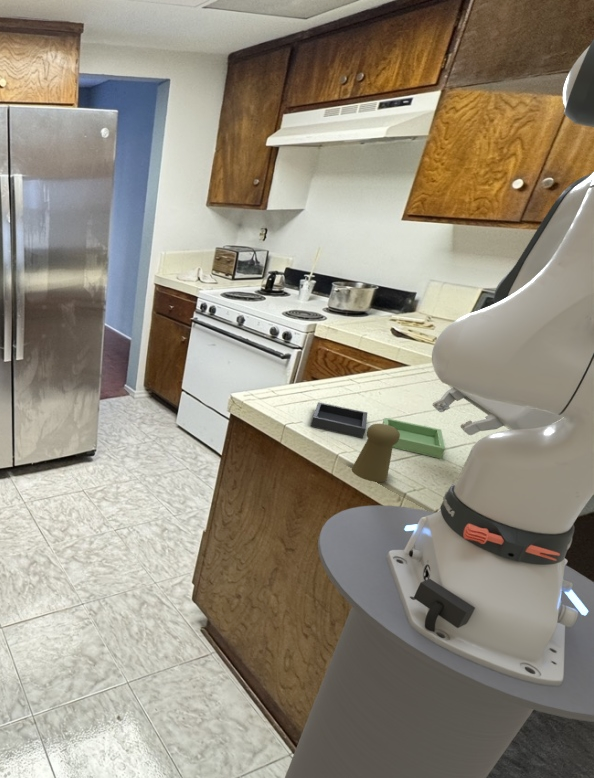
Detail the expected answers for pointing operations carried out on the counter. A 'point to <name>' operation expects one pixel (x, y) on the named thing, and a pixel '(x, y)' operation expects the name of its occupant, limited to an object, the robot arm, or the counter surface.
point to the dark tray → (340, 420)
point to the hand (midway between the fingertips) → (449, 419)
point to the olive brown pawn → (376, 453)
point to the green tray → (418, 438)
